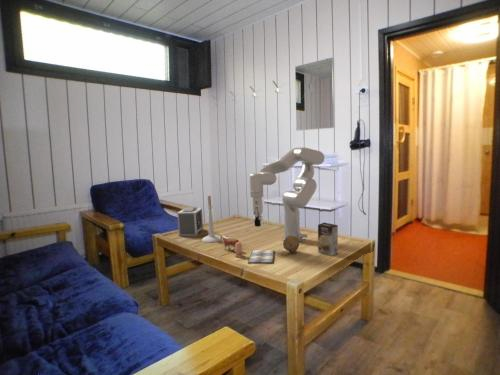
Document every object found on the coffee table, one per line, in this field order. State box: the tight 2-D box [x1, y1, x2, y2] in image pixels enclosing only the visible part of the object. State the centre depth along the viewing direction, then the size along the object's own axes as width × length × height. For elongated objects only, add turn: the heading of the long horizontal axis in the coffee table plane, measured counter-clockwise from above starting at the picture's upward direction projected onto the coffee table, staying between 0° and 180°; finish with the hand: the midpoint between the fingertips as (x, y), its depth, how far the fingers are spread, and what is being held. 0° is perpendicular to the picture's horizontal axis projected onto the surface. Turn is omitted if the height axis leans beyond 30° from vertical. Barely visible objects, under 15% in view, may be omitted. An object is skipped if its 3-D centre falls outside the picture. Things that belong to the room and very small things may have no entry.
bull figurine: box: [220, 234, 240, 253], centre depth 181 cm, size 4×13×8 cm, turn 51°
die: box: [252, 215, 264, 228], centre depth 180 cm, size 5×5×5 cm
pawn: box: [234, 241, 244, 258], centre depth 170 cm, size 5×5×8 cm
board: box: [247, 249, 275, 264], centre depth 167 cm, size 13×18×1 cm
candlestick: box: [201, 195, 222, 244], centre depth 201 cm, size 13×13×30 cm
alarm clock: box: [176, 207, 204, 237], centre depth 222 cm, size 18×13×18 cm
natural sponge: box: [282, 235, 300, 254], centre depth 171 cm, size 9×9×10 cm
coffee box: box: [317, 222, 339, 257], centre depth 168 cm, size 9×6×16 cm
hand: (258, 224), depth 180 cm, fingers closed on die, 4 cm apart
